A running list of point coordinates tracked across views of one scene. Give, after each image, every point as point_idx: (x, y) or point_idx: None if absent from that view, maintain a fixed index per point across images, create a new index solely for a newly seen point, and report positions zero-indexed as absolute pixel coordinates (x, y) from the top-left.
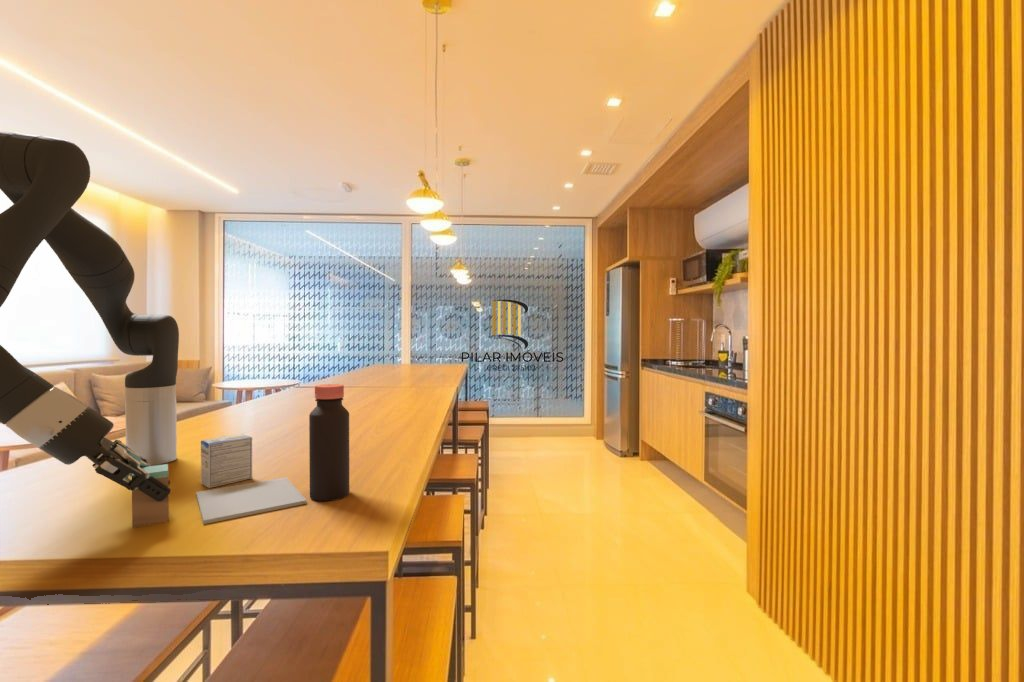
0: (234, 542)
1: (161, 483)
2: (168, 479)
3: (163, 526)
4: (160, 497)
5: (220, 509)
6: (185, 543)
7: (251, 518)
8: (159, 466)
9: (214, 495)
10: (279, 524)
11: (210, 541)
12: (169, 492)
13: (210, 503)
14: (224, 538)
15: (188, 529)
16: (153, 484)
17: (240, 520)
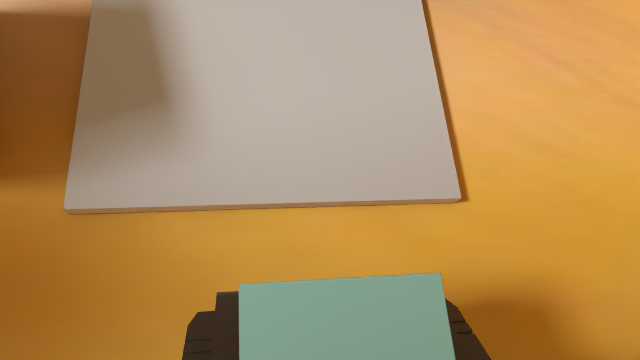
0: (628, 141)
1: None
2: (217, 297)
3: None
4: None
5: (373, 144)
6: (597, 253)
7: (462, 83)
8: (288, 335)
9: (177, 149)
10: (540, 36)
11: (603, 192)
12: None
13: (279, 168)
14: (593, 159)
15: (481, 245)
16: (485, 356)
17: (466, 109)
